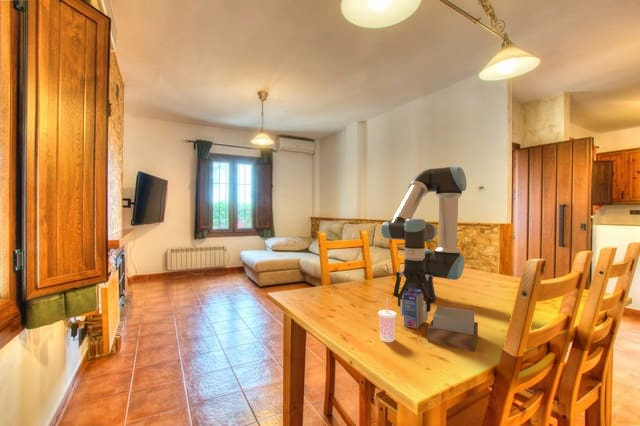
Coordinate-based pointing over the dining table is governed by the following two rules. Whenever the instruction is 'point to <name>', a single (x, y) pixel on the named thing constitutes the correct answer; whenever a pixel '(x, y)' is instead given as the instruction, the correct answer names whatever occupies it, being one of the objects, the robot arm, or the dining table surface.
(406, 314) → the ink cartridge box
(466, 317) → the grey top slab
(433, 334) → the walnut base slab
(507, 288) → the dining table surface
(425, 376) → the dining table surface
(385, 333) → the beverage cup
